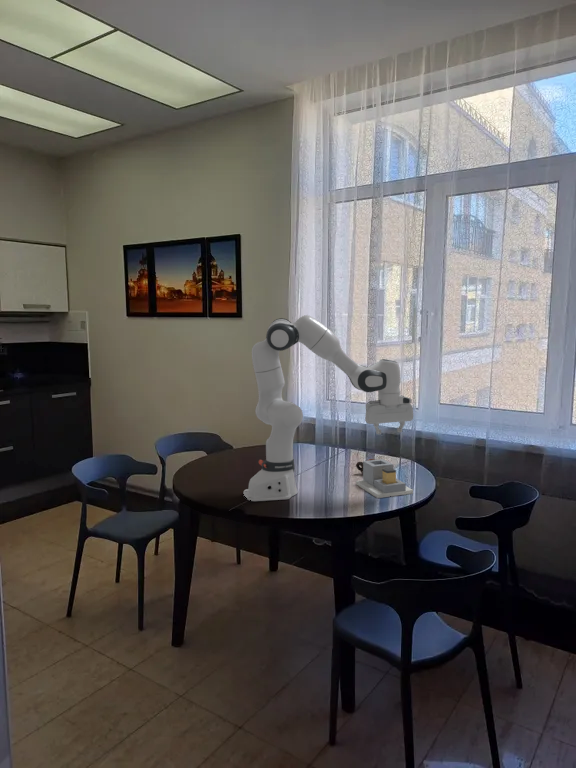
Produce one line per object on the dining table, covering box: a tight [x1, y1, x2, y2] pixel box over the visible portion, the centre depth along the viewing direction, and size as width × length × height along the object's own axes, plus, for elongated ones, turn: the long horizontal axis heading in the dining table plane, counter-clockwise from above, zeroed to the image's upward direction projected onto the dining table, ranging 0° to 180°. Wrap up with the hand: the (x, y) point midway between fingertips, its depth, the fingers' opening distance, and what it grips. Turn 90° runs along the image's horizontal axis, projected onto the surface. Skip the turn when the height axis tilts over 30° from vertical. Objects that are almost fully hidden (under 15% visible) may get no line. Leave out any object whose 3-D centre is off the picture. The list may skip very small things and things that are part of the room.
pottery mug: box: [355, 458, 376, 474], centre depth 243 cm, size 12×10×8 cm
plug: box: [382, 468, 397, 484], centre depth 216 cm, size 4×4×8 cm
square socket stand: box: [355, 458, 414, 499], centre depth 221 cm, size 16×20×10 cm
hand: (389, 433), depth 214 cm, fingers open, 8 cm apart
